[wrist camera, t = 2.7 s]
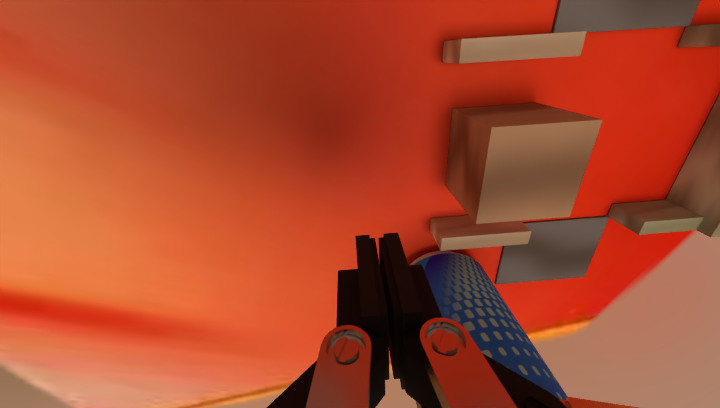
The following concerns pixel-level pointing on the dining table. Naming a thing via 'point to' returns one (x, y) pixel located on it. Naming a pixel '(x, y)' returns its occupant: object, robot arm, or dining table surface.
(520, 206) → the walnut block
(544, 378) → the beer can
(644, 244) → the dining table surface
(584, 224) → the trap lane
